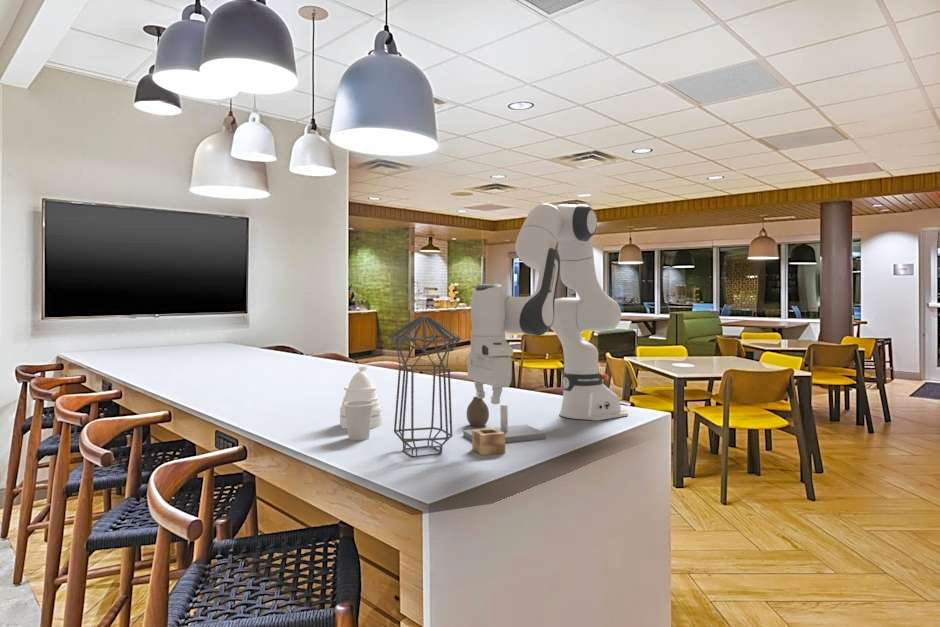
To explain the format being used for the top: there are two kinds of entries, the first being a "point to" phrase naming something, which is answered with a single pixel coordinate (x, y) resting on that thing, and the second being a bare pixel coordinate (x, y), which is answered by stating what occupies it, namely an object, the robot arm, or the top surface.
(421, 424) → the top surface
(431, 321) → the geometric lantern
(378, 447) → the top surface
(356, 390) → the honey pot
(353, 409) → the dixie cup
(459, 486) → the top surface
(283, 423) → the top surface
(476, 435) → the brown hollow square block
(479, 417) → the vase
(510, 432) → the board
